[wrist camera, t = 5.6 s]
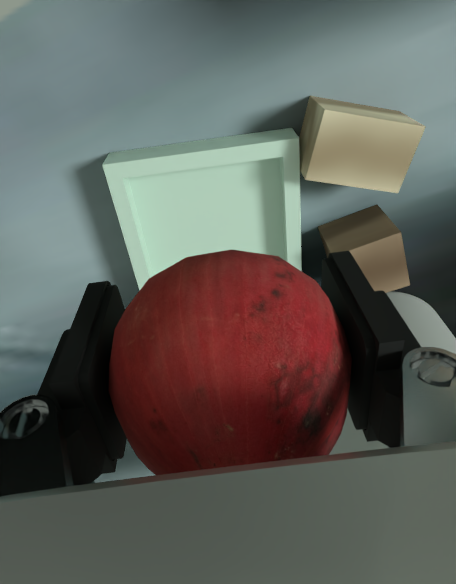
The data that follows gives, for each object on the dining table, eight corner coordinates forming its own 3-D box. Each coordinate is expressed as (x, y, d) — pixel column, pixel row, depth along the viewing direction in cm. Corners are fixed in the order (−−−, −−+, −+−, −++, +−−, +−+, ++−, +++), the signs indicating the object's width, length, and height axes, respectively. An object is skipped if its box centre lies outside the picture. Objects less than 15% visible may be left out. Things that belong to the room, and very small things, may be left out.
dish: (109, 152, 27) (102, 164, 25) (291, 127, 27) (299, 138, 25) (150, 299, 34) (147, 317, 32) (296, 280, 34) (302, 297, 32)
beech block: (309, 95, 26) (324, 109, 23) (398, 110, 27) (425, 126, 24) (293, 158, 28) (305, 179, 25) (375, 171, 29) (397, 193, 26)
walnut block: (317, 226, 31) (333, 256, 28) (376, 203, 31) (400, 232, 27) (331, 272, 34) (347, 305, 30) (386, 252, 33) (409, 284, 29)
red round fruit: (262, 162, 11) (353, 377, 5) (337, 307, 14) (457, 562, 8) (93, 259, 13) (-18, 530, 6) (193, 373, 16) (191, 638, 9)
